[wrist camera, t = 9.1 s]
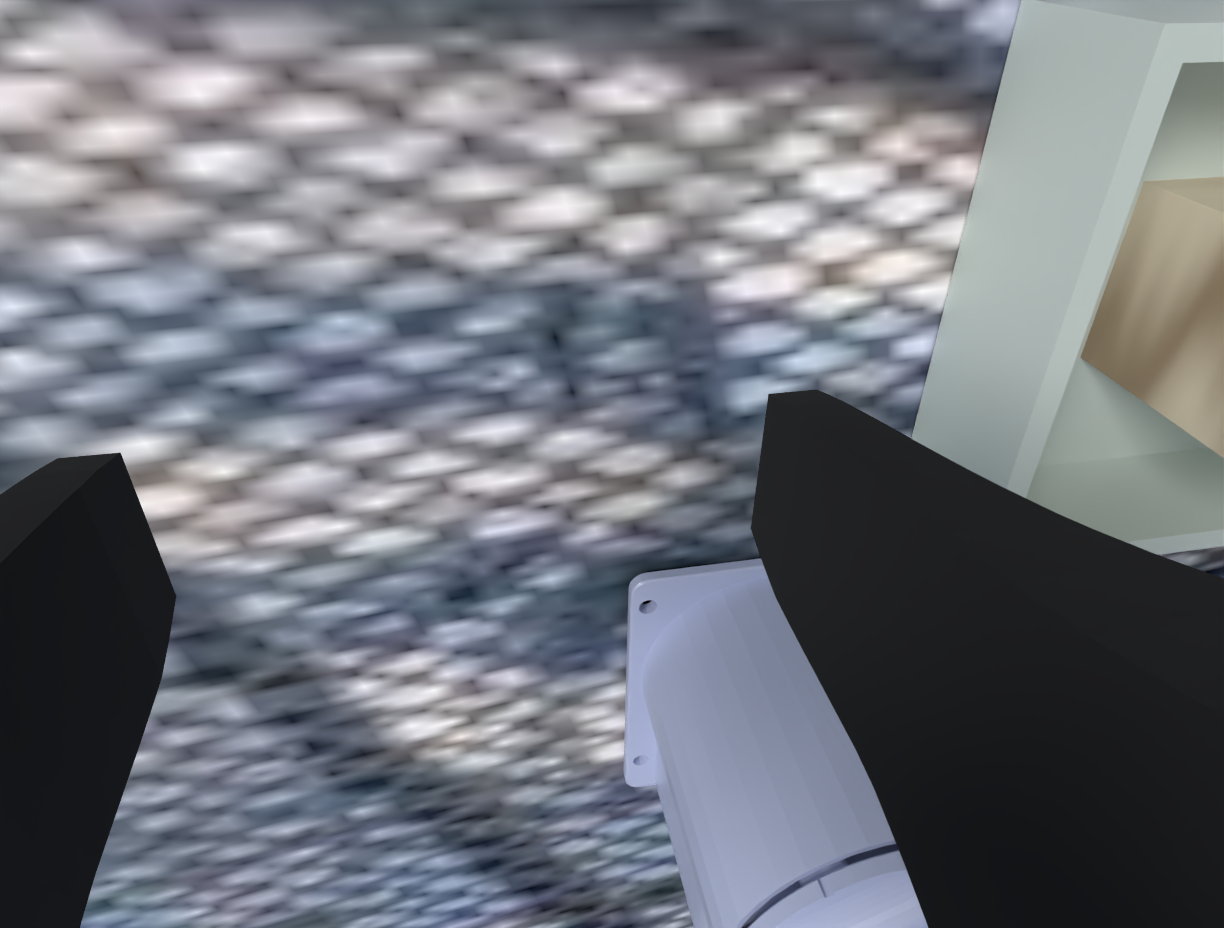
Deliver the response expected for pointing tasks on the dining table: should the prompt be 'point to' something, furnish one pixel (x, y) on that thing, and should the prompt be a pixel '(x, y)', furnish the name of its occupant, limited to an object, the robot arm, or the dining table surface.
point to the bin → (1078, 268)
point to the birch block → (1169, 307)
